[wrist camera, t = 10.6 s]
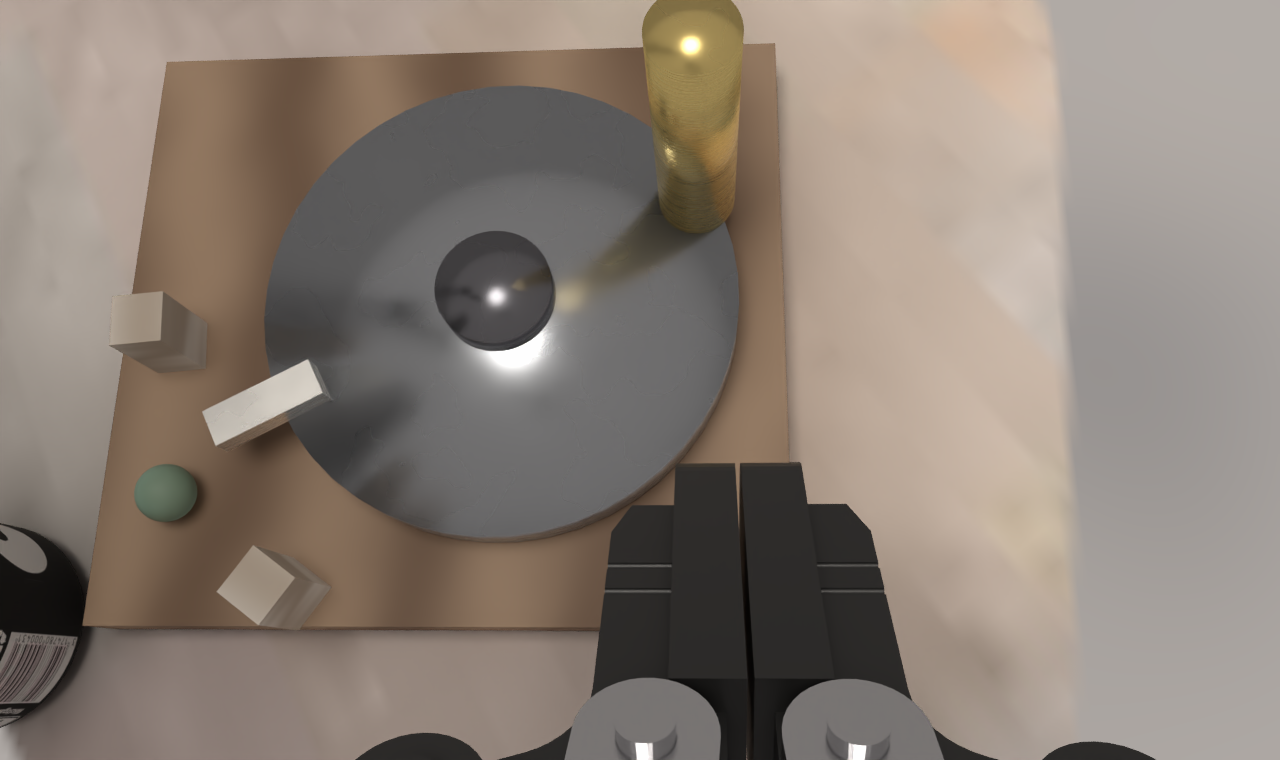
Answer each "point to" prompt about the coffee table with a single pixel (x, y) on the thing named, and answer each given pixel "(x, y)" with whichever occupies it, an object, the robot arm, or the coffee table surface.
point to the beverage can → (35, 620)
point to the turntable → (236, 360)
